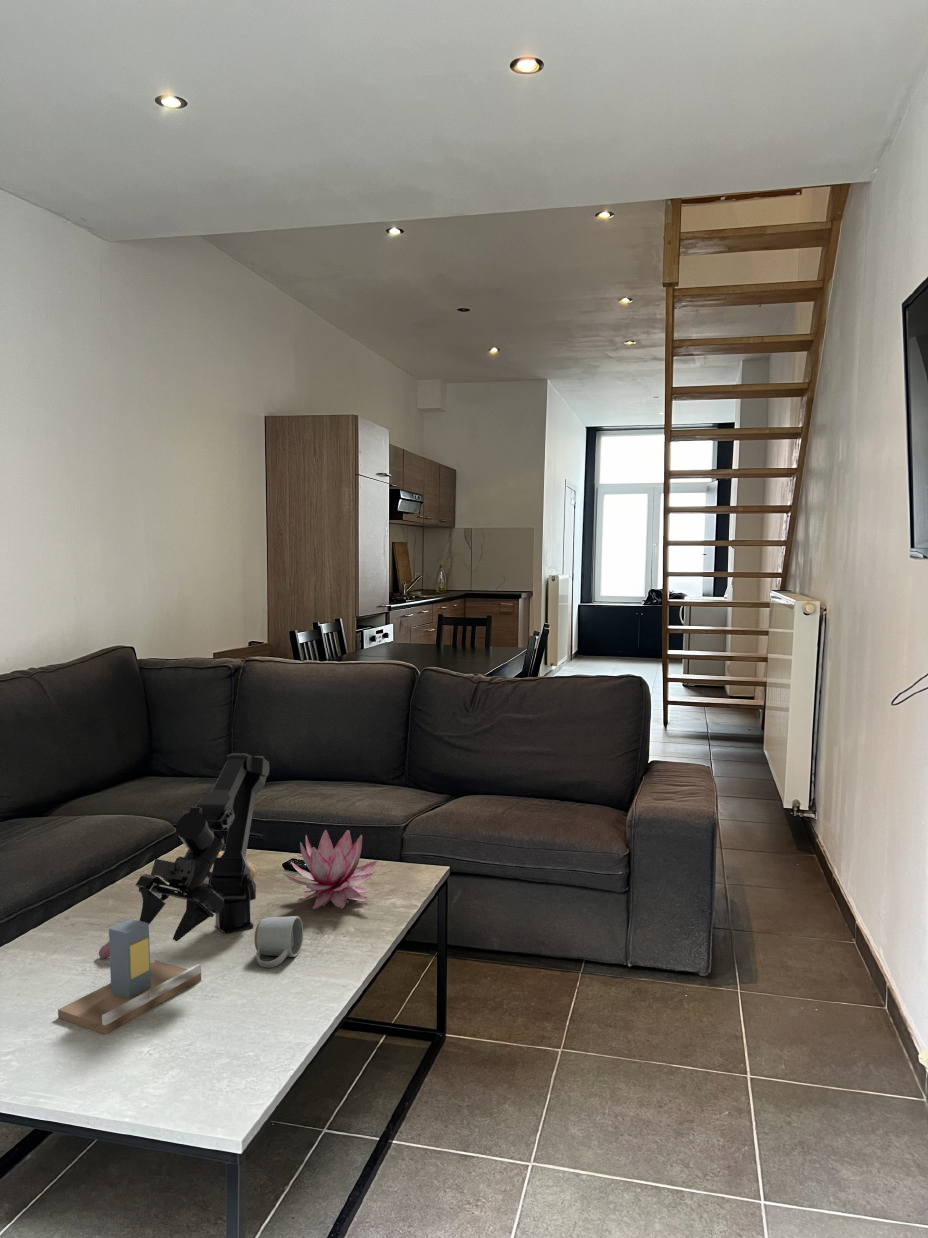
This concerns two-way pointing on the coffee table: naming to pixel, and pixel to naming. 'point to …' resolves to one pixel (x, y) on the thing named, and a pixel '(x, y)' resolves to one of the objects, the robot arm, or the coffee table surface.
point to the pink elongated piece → (105, 950)
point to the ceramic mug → (278, 938)
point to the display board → (114, 1010)
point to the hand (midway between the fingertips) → (157, 935)
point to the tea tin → (129, 958)
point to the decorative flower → (334, 870)
